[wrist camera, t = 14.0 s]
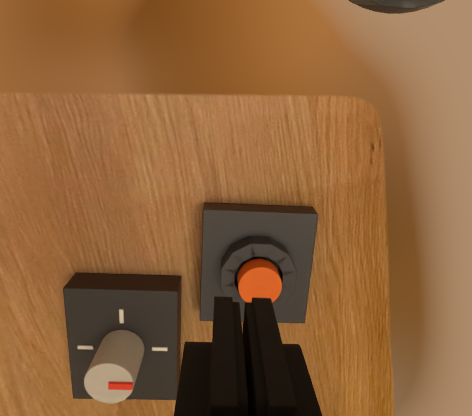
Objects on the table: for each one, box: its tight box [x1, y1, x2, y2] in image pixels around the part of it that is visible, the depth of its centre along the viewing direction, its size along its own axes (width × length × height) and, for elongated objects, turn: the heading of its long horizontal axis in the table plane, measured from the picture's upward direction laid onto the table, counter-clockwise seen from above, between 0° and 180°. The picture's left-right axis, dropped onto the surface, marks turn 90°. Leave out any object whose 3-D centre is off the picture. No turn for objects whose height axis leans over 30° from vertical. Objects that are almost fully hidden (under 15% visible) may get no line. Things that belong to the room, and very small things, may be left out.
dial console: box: [63, 273, 181, 400], centre depth 36 cm, size 12×10×3 cm
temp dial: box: [84, 330, 144, 403], centre depth 32 cm, size 4×4×5 cm
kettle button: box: [238, 258, 282, 302], centre depth 31 cm, size 4×4×2 cm
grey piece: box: [200, 203, 318, 323], centre depth 33 cm, size 11×10×4 cm
